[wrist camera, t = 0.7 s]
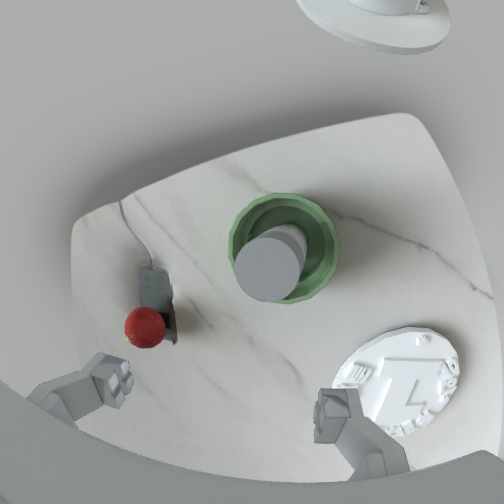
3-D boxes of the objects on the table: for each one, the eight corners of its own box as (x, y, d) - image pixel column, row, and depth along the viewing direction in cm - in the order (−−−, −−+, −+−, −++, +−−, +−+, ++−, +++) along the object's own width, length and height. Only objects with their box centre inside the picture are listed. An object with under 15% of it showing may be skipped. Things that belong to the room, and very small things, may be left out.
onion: (182, 325, 39) (154, 349, 31) (158, 341, 40) (130, 365, 32) (158, 293, 39) (125, 311, 31) (136, 311, 40) (104, 331, 32)
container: (291, 214, 32) (272, 220, 18) (316, 246, 32) (316, 277, 18) (260, 238, 34) (219, 263, 19) (284, 269, 33) (261, 316, 19)
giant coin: (475, 351, 29) (483, 360, 26) (401, 439, 34) (403, 451, 31) (381, 301, 32) (386, 309, 29) (305, 408, 36) (304, 420, 34)
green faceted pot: (267, 180, 33) (256, 174, 26) (350, 222, 31) (358, 225, 25) (230, 260, 35) (211, 272, 29) (307, 301, 34) (305, 321, 28)
